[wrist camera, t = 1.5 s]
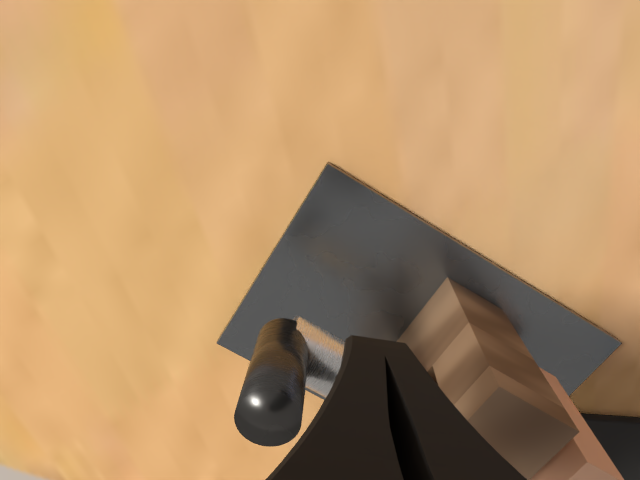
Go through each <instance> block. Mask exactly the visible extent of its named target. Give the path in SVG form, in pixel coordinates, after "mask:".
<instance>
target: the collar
mask: <svg viewBox="0 0 640 480" xmlns="http://www.w3.org/2000/svg"><path fill="white" fill-rule="evenodd" d="M539 368H540V367H539ZM540 370H541V371H542V373H543V375H544V376H545V378H546V379H547V381H548V383H549V384H550V386H551V387H552V389H553V391H554V392H555V394H556V395H557V397H558V398H559V400H560V402H561V403H562V405H563V406H564V408H565V410H566V411H567V413H568V414H569V416H570V417H571V419H572V421H573V422H574V424H575V425H576V427H577V429H578V430H579V433H578V434H577V435H576V436H575V437H574V438H573V439H571V440H570V441H569V442H568V443H567V444H566V445H565V446H564V447H563V448H562V449H561V450H560V451H559V452H558V453H557V454H556V455H555V456H554V457H553V458H552V459H550V460H549V461H548V462H547V463H546V464H545V465H544V466H543V467H542V468H541V469H540V470H539V471H538V472H537V473H536V474H535V475H534V476H533V477H532V478H531V479H529V480H624V479H623V477H622V476H621V474H620V473H619V471H618V470H617V468H616V467H615V465H614V464H613V462H612V461H611V459H610V458H609V456H608V455H607V453H606V452H605V450H604V449H603V447H602V446H601V444H600V443H599V441H598V440H597V438H596V437H595V435H594V434H593V432H592V431H591V429H590V428H589V426H588V425H587V423H586V422H585V420H584V419H583V417H582V416H581V414H580V413H579V411H578V410H577V408H576V407H575V405H574V404H573V402H572V401H571V399H570V398H569V396H568V395H567V393H566V392H565V390H564V389H563V387H562V386H561V384H560V383H559V381H558V380H557V378H556V377H555V376H553V375H552V374H550V373H548V372H547V371H545V370H543V369H541V368H540Z"/></svg>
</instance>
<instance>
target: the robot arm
mask: <svg viewBox="0 0 640 480" xmlns="http://www.w3.org/2000/svg"><path fill="white" fill-rule="evenodd" d="M266 480H527V479H526V478H525V477H524V476H523V475H522V474H521V473H519V472H518V471H517V470H516V469H515V468H514V467H513V466H512V465H511V464H510V463H509V462H508V461H507V460H506V459H504V458H503V457H502V456H501V455H500V454H499V453H498V452H497V451H496V450H495V449H494V448H493V447H492V446H491V445H490V444H489V443H488V442H487V441H486V440H485V439H484V438H483V437H482V436H481V435H480V434H479V433H478V431H477V430H476V429H475V428H474V427H473V426H472V425H471V424H470V423H469V422H468V421H467V420H466V418H465V417H464V416H463V415H462V414H461V413H460V412H459V410H458V409H457V408H456V407H455V406H454V405H453V403H452V402H451V401H450V400H449V399H448V397H447V396H446V395H445V394H444V392H443V391H442V390H441V389H440V388H439V386H438V385H437V384H436V382H435V381H434V380H433V379H432V377H431V376H430V375H429V373H428V372H427V371H426V369H425V368H424V367H423V365H422V364H421V363H420V361H419V360H418V359H417V357H416V356H415V355H414V353H413V352H412V351H411V349H410V348H409V347H408V345H407V344H406V343H402V342H396V341H389V340H382V339H375V338H368V337H361V336H355V335H351V336H349V337H348V338H346V340H345V345H344V351H343V356H342V361H341V367H340V370H339V372H338V374H337V377H336V379H335V381H334V383H333V386H332V388H331V390H330V392H329V393H328V395H327V397H326V399H325V400H324V402H323V404H322V406H321V408H320V409H319V411H318V413H317V414H316V416H315V418H314V419H313V421H312V422H311V424H310V425H309V427H308V428H307V430H306V431H305V432H304V434H303V435H302V436H301V438H300V439H299V441H298V442H297V443H296V445H295V446H294V447H293V448H292V450H291V451H290V452H289V453H288V454H287V456H286V457H285V458H284V459H283V461H282V462H281V463H280V464H279V465H278V467H277V468H276V469H275V470H274V471H273V472H272V473H271V474H270V475H269V477H268V478H267V479H266Z"/></svg>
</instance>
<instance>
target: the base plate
mask: <svg viewBox="0 0 640 480" xmlns="http://www.w3.org/2000/svg"><path fill="white" fill-rule="evenodd" d="M447 277H448V278H450V279H452V280H453V281H455V282H457V283H458V284H460V285H462V286H463V287H465V288H467V289H468V290H470V291H472V292H474V293H475V294H477V295H479V296H480V297H482V298H484V299H485V300H487V301H489V302H490V303H492V304H494V305H495V306H497V307H499V308H500V309H502V310H503V311H504V313H505V314H506V316H507V317H508V319H509V321H510V322H511V324H512V325H513V327H514V329H515V330H516V332H517V333H518V335H519V337H520V338H521V340H522V341H523V343H524V344H525V346H526V348H527V349H528V351H529V352H530V354H531V356H532V357H533V359H534V360H535V362H536V364H537V365H538V367H540V368H541V369H543V370H545V371H547V372H548V373H550V374H552V375H553V376H555V377H556V378H557V380H558V381H559V383H560V384H561V386H562V387H563V389H564V390H565V392H566V393H567V395H568V396H569V395H570V394H571V393H572V392H573V391H574V390H575V389H576V388H577V387H578V386H579V385H581V384H582V383H583V382H584V381H585V380H586V379H587V378H588V377H589V376H590V375H591V374H592V373H593V372H594V371H595V370H596V369H597V368H598V367H599V366H600V365H601V364H602V363H603V362H604V361H605V360H606V359H607V358H608V357H609V356H610V355H611V354H612V353H613V352H614V351H615V350H616V349H617V348H618V347H619V346H620V345H621V344H622V343H621V342H620V341H619V340H618V339H617V338H616V337H614V336H612V335H611V334H609V333H608V332H606V331H604V330H603V329H601V328H599V327H598V326H596V325H594V324H593V323H591V322H590V321H588V320H586V319H585V318H583V317H581V316H580V315H578V314H576V313H575V312H573V311H572V310H570V309H568V308H567V307H565V306H563V305H562V304H560V303H558V302H557V301H555V300H554V299H552V298H550V297H549V296H547V295H545V294H544V293H542V292H540V291H539V290H537V289H536V288H534V287H532V286H531V285H529V284H527V283H526V282H524V281H522V280H521V279H519V278H518V277H516V276H514V275H513V274H511V273H509V272H508V271H506V270H504V269H503V268H501V267H500V266H498V265H496V264H495V263H493V262H491V261H490V260H488V259H486V258H485V257H483V256H482V255H480V254H478V253H477V252H475V251H473V250H472V249H470V248H468V247H467V246H465V245H464V244H462V243H460V242H459V241H457V240H455V239H454V238H452V237H451V236H449V235H447V234H446V233H444V232H442V231H441V230H439V229H437V228H436V227H434V226H433V225H431V224H429V223H428V222H426V221H424V220H423V219H421V218H419V217H418V216H416V215H415V214H413V213H411V212H410V211H408V210H406V209H405V208H403V207H401V206H400V205H398V204H397V203H395V202H393V201H392V200H390V199H388V198H387V197H385V196H383V195H382V194H380V193H379V192H377V191H375V190H374V189H372V188H370V187H369V186H367V185H365V184H364V183H362V182H361V181H359V180H357V179H356V178H354V177H352V176H351V175H349V174H347V173H346V172H344V171H343V170H341V169H339V168H338V167H336V166H334V165H333V164H331V163H329V162H327V164H326V166H325V167H324V169H323V171H322V172H321V174H320V175H319V177H318V179H317V180H316V182H315V183H314V185H313V187H312V188H311V190H310V192H309V193H308V195H307V196H306V198H305V200H304V201H303V203H302V204H301V206H300V208H299V209H298V211H297V213H296V214H295V216H294V217H293V219H292V221H291V222H290V224H289V226H288V227H287V229H286V230H285V232H284V234H283V235H282V237H281V238H280V240H279V242H278V243H277V245H276V247H275V248H274V250H273V251H272V253H271V255H270V256H269V258H268V259H267V261H266V263H265V264H264V266H263V268H262V269H261V271H260V272H259V274H258V276H257V277H256V279H255V281H254V282H253V284H252V285H251V287H250V289H249V290H248V292H247V293H246V295H245V297H244V298H243V300H242V302H241V303H240V305H239V306H238V308H237V310H236V311H235V313H234V315H233V316H232V318H231V319H230V321H229V323H228V324H227V326H226V327H225V329H224V331H223V332H222V334H221V336H220V337H219V339H218V341H217V344H219V345H221V346H223V347H225V348H227V349H228V350H230V351H232V352H234V353H236V354H238V355H240V356H242V357H244V358H246V359H248V360H249V361H251V358H252V354H253V351H254V348H255V345H256V341H257V338H258V335H259V332H260V330H261V328H262V327H263V326H264V325H265V324H266V323H268V322H269V321H271V320H274V319H279V318H287V319H293V318H294V317H295V316H296V315H299V316H301V317H302V318H304V319H306V320H308V321H310V322H312V323H313V324H315V325H317V326H319V327H321V328H322V329H324V330H326V331H328V332H330V333H332V334H333V335H335V336H337V337H339V338H341V339H342V340H344V341H345V340H346V338H348V337H349V336H351V335H355V336H361V337H368V338H375V339H382V340H389V341H396V342H397V340H398V339H399V338H400V336H401V335H402V334H403V333H404V331H405V330H406V329H407V328H408V326H409V325H410V324H411V322H412V321H413V320H414V319H415V317H416V316H417V315H418V314H419V312H420V311H421V310H422V309H423V307H424V306H425V305H426V303H427V302H428V301H429V300H430V298H431V297H432V296H433V295H434V293H435V292H436V291H437V289H438V288H439V287H440V286H441V284H442V283H443V282H444V281H445V279H446V278H447ZM305 390H307V391H309V392H311V393H312V394H314V395H316V396H318V397H320V398H322V399H324V400H325V399H326V397H324V396H322V395H320V394H318V393H316V392H314V391H312V390H310V389H308V388H307V387H305Z"/></svg>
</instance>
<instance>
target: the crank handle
mask: <svg viewBox="0 0 640 480" xmlns="http://www.w3.org/2000/svg"><path fill="white" fill-rule="evenodd" d="M344 345H345V341H344V340H342V339H341V338H339V337H337V336H335V335H333V334H332V333H330V332H328V331H326V330H324V329H322V328H321V327H319V326H317V325H315V324H313V323H312V322H310V321H308V320H306V319H304V318H302V317H301V316H299V315H296V316H295V317H294V318H293V319H287V318H279V319H274V320H271V321H269V322H268V323H266V324H265V325H264V326H263V327H262V328H261V330H260V332H259V335H258V338H257V341H256V345H255V348H254V351H253V354H252V358H251V361H250V364H249V367H248V371H247V374H246V377H245V381H244V384H243V387H242V390H241V394H240V397H239V400H238V404H237V407H236V410H235V414H234V420H235V424H236V427H237V429H238V430H239V432H240V433H241V434H242V435H243V436H244V437H245V438H246V439H248V440H249V441H251V442H253V443H255V444H258V445H262V446H279V445H282V444H285V443H287V442H289V441H291V440H292V439H293V438H294V437H295V436H296V435H297V434H298V432H299V430H300V427H301V421H302V413H303V404H304V395H305V387H307V388H308V389H310V390H312V391H314V392H316V393H318V394H320V395H322V396H324V397H327V395H328V393H329V392H330V390H331V388H332V386H333V383H334V381H335V379H336V377H337V374H338V372H339V370H340V367H341V361H342V356H343V351H344Z"/></svg>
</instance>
